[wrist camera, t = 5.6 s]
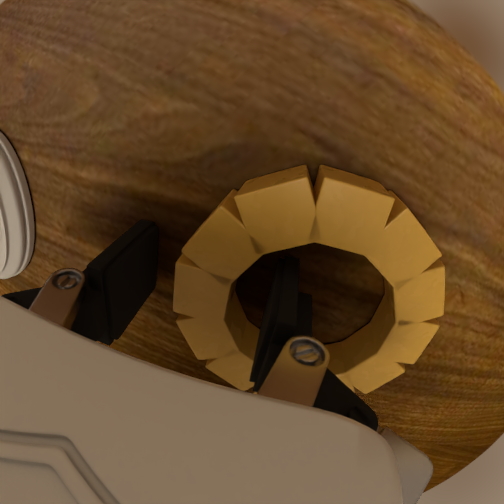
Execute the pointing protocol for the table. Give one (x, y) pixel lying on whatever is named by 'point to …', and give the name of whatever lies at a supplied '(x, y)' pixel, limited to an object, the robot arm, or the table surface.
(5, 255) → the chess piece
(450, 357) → the table surface
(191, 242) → the brass ring
